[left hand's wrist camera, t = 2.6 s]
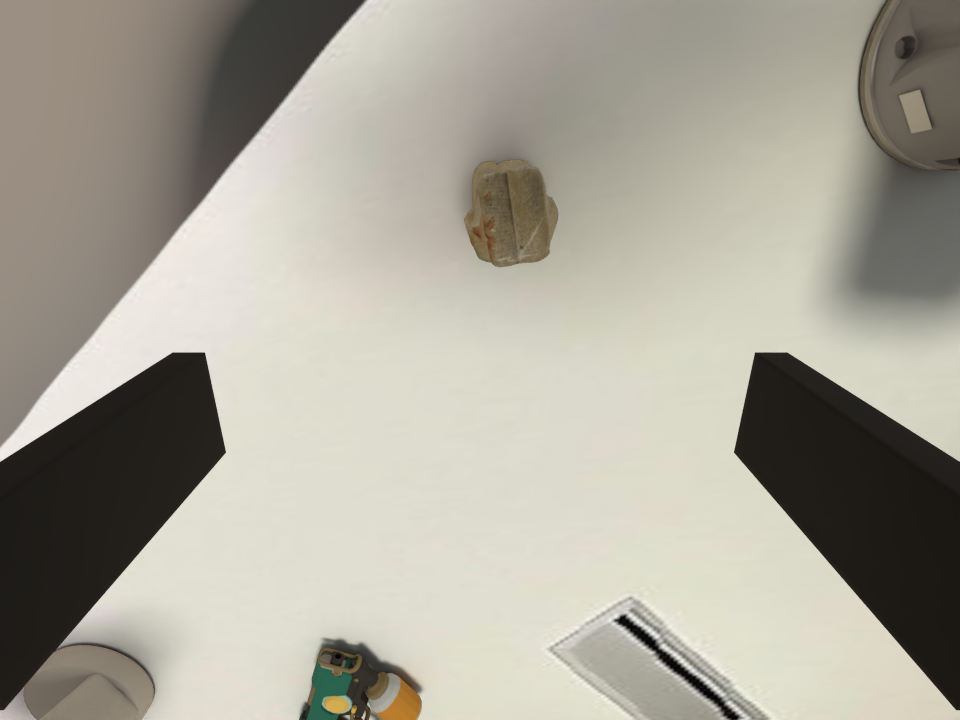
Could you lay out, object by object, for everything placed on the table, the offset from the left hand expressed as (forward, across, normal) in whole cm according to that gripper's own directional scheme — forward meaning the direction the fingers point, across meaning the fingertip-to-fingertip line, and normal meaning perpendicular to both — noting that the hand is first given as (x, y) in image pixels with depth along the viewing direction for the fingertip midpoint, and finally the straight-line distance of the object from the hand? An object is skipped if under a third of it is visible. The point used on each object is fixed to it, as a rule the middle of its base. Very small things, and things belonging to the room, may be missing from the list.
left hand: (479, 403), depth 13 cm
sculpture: (+31, +2, +2) cm, 31 cm away
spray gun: (+31, -15, -54) cm, 64 cm away
